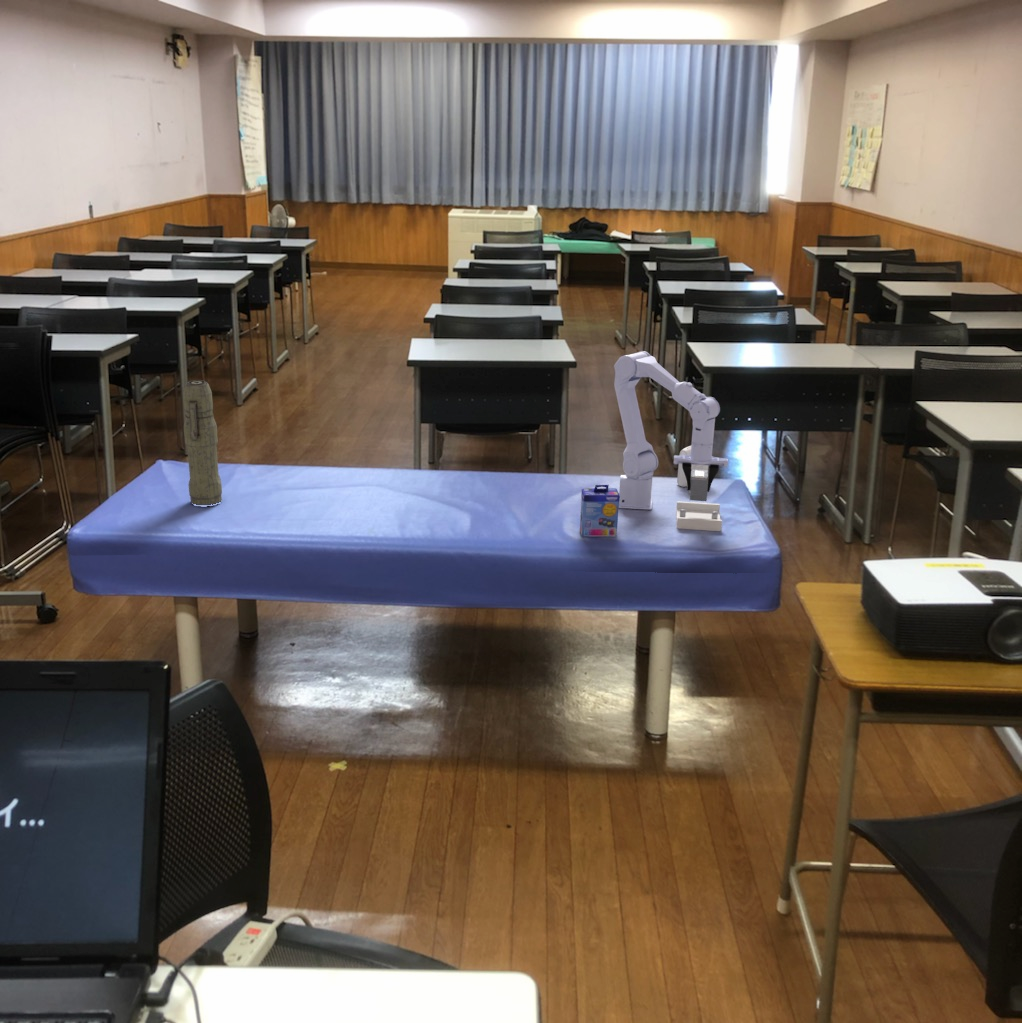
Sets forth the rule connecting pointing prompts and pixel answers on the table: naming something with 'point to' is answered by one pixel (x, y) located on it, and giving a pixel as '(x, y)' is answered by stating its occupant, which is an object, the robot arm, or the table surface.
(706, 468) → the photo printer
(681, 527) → the tray
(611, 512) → the ink cartridge box
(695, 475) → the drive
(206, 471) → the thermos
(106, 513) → the table surface
